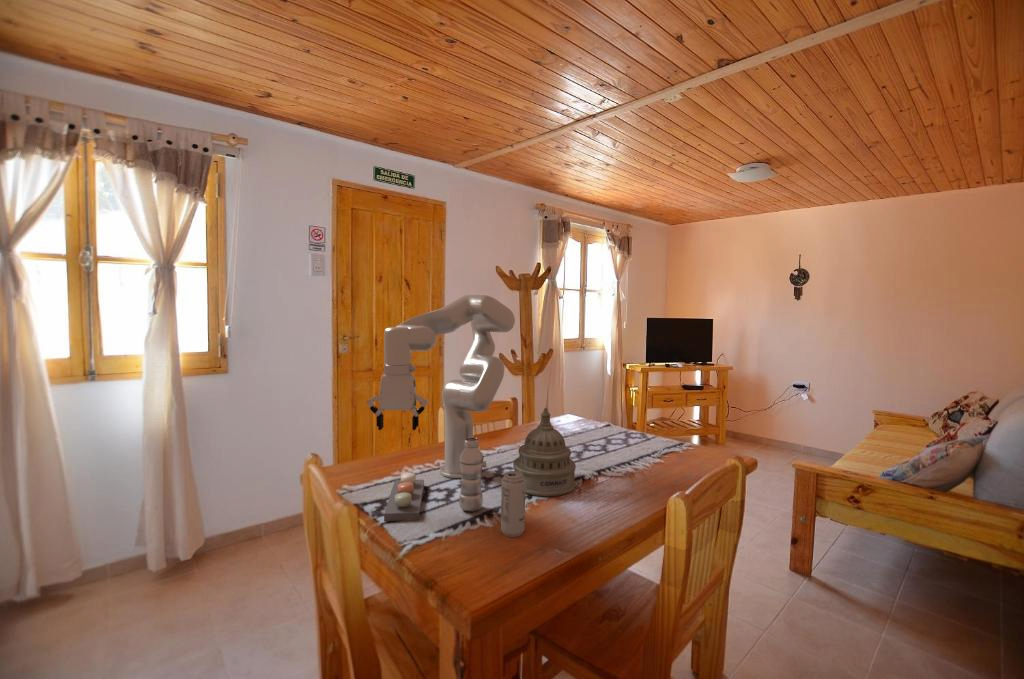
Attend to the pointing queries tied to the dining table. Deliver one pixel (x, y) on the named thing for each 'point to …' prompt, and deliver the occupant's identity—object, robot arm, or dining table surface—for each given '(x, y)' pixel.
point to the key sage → (403, 499)
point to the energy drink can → (513, 504)
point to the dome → (546, 461)
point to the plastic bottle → (471, 476)
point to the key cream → (408, 477)
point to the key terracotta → (406, 487)
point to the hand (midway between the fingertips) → (397, 429)
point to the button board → (405, 511)
